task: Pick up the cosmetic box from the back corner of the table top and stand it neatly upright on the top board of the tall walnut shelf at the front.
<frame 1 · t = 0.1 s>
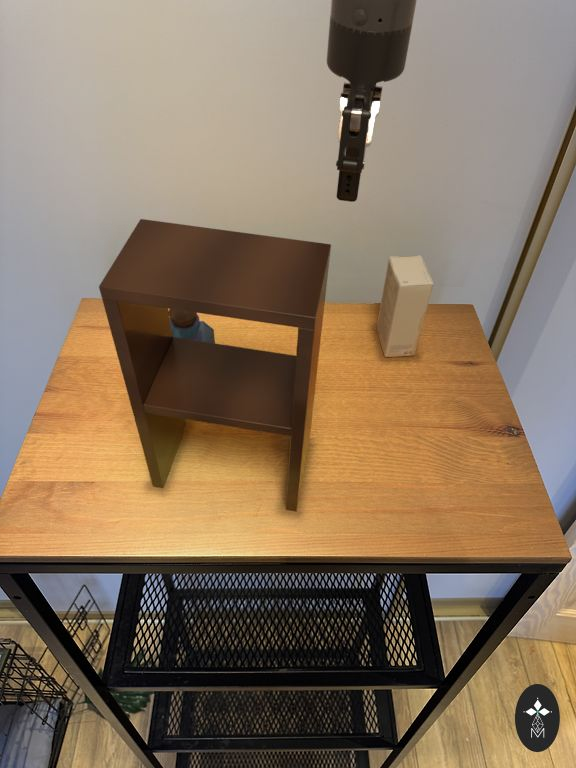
hand: (350, 179, 64), 22 cm above the shelf top, tool pointing down, fingers open, 8 cm apart
cosmetic box: (393, 342, 79), on the shelf top
walnut shelf: (233, 464, 65), on the shelf top
perfume bottle: (192, 383, 73), on the shelf top
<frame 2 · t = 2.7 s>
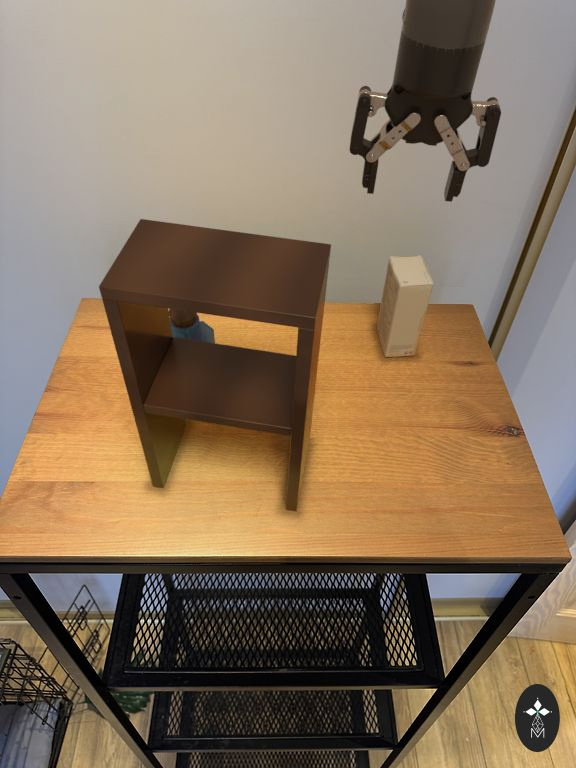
hand: (409, 193, 63), 22 cm above the shelf top, tool pointing down, fingers open, 8 cm apart
nothing on the shelf top moved.
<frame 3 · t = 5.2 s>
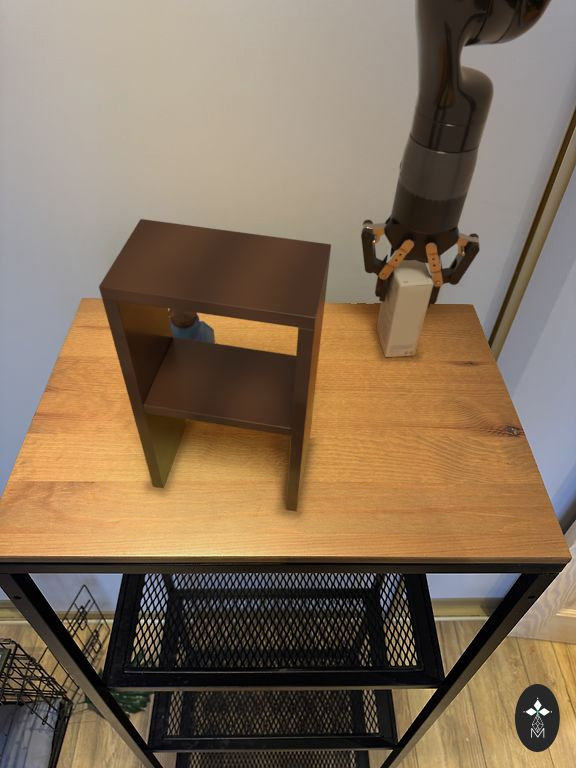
hand: (404, 300, 74), 7 cm above the shelf top, tool pointing down, fingers closed on cosmetic box, 5 cm apart
cosmetic box: (394, 342, 79), on the shelf top, touching gripper
everything else where it was.
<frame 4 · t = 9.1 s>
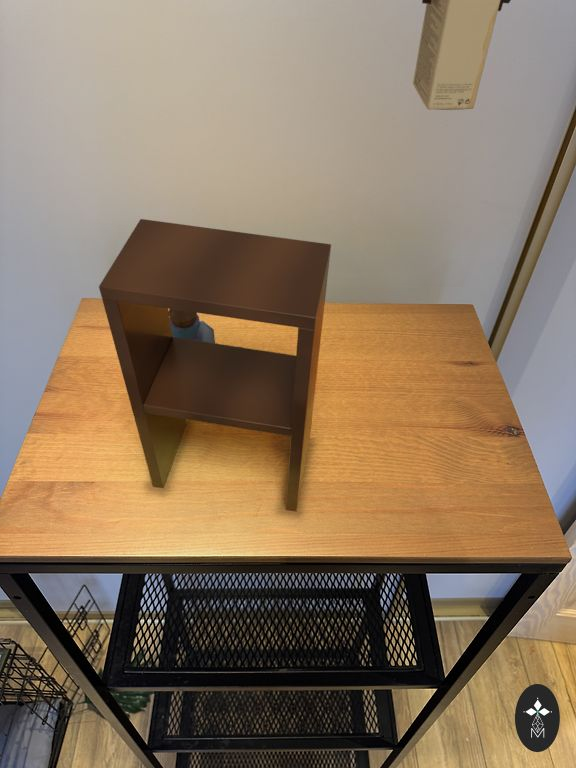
hand: (461, 3, 47), 41 cm above the shelf top, tool pointing down, fingers closed on cosmetic box, 5 cm apart
cosmetic box: (439, 98, 53), point 33 cm above the shelf top, touching gripper
everything else where it was.
when the fingers open (35 cm above the shelf top, at t = 13.0 s): cosmetic box stays where it is, resting on walnut shelf.
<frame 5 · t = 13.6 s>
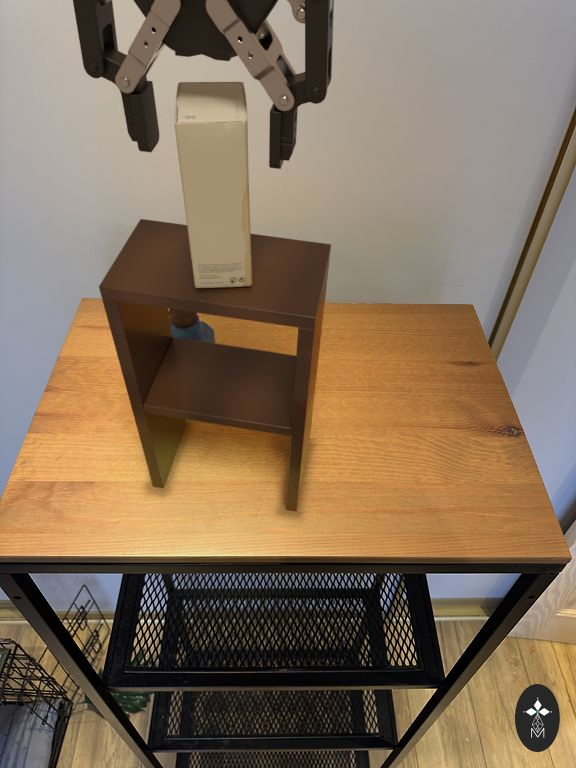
hand: (213, 154, 37), 37 cm above the shelf top, tool pointing down, fingers open, 8 cm apart
cosmetic box: (222, 265, 44), point 28 cm above the shelf top, touching walnut shelf
everything else where it was.
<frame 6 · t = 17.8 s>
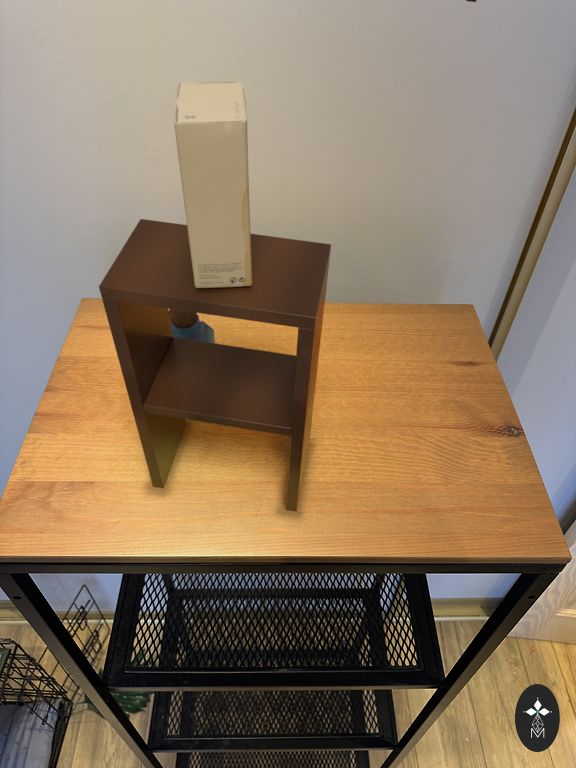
hand: (527, 4, 43), 42 cm above the shelf top, tool pointing down, fingers open, 8 cm apart
nothing on the shelf top moved.
at the end: cosmetic box inside the target area on the walnut shelf (0.1 cm from its centre), point 27.8 cm above the walnut shelf's base; cosmetic box tilted 0°; the gripper is holding nothing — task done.
